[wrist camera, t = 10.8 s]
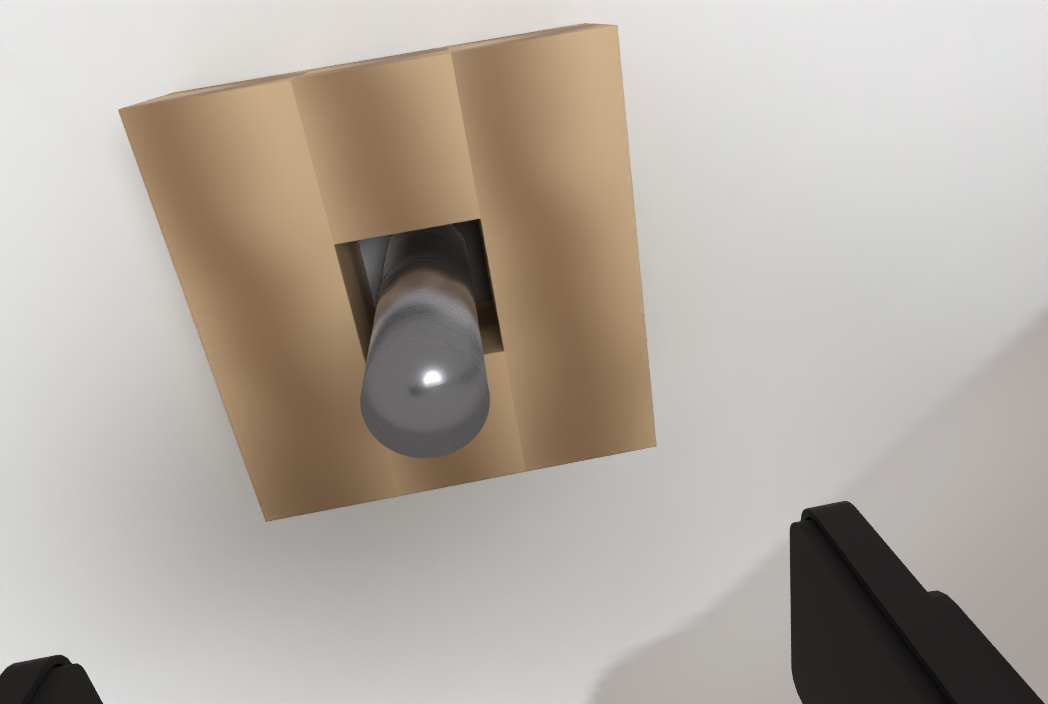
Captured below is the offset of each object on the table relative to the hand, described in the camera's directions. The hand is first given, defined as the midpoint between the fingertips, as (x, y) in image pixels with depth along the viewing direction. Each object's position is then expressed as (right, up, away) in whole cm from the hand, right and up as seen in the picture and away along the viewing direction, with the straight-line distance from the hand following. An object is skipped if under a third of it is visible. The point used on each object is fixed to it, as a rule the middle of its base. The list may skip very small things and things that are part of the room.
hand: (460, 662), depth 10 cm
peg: (-3, +8, +19) cm, 20 cm away
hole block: (-3, +8, +19) cm, 20 cm away
